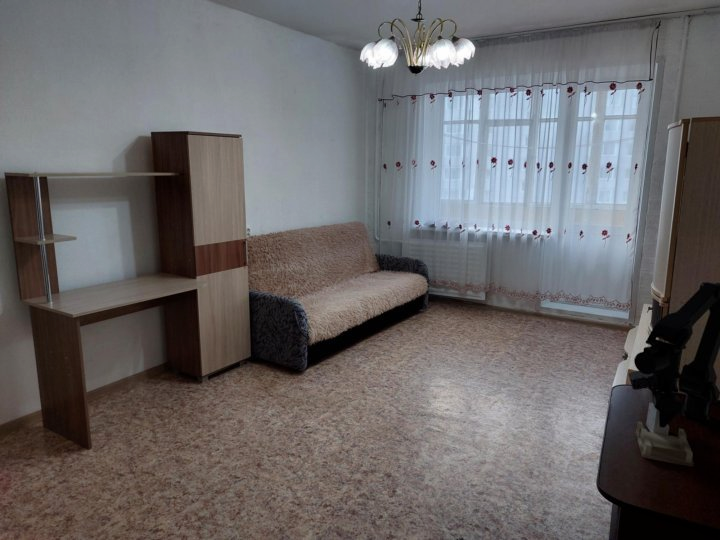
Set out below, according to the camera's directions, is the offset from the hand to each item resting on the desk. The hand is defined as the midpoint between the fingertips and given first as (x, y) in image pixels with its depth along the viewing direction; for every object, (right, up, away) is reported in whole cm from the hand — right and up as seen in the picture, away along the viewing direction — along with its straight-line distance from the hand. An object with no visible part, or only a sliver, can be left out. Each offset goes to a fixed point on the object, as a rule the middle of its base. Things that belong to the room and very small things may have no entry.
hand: (658, 418), depth 138 cm
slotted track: (-3, -6, -7) cm, 10 cm away
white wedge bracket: (0, -4, +1) cm, 4 cm away
